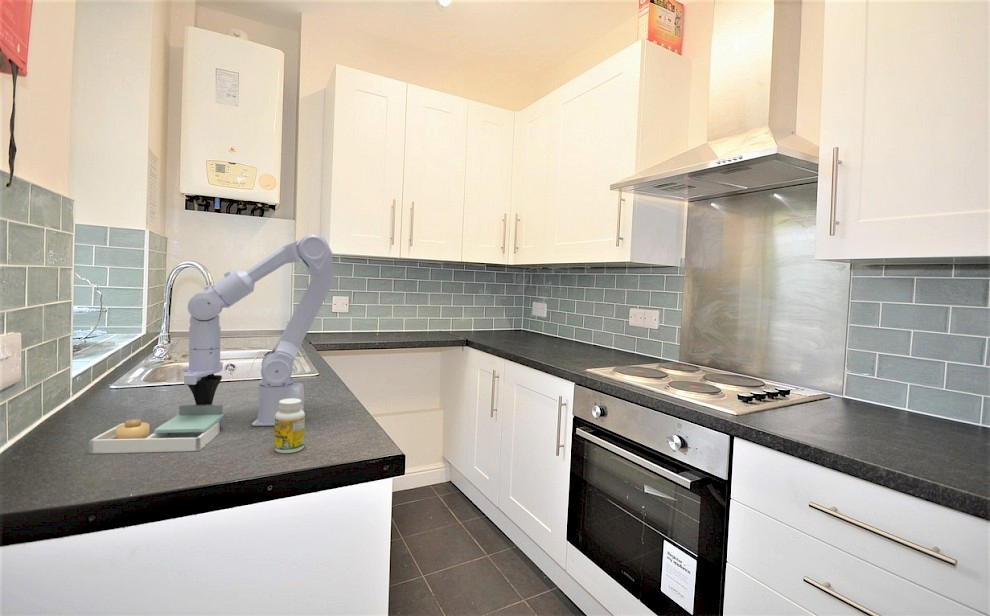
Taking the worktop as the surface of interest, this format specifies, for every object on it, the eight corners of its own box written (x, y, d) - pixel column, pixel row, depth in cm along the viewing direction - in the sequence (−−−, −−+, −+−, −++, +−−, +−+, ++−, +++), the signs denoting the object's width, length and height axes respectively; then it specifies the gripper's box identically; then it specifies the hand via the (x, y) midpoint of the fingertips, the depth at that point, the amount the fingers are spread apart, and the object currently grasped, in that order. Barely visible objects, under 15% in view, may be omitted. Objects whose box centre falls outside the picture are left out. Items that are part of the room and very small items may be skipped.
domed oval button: (153, 439, 92) (154, 417, 92) (140, 447, 87) (141, 424, 87) (124, 439, 91) (125, 417, 91) (110, 448, 86) (110, 424, 86)
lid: (224, 416, 100) (224, 404, 100) (204, 431, 90) (204, 418, 90) (179, 416, 98) (179, 404, 98) (153, 432, 88) (154, 419, 88)
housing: (219, 433, 97) (219, 422, 97) (199, 450, 87) (199, 438, 87) (121, 434, 93) (121, 423, 93) (89, 453, 83) (88, 440, 83)
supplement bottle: (310, 447, 91) (311, 400, 91) (286, 456, 87) (287, 406, 86) (292, 442, 94) (293, 395, 93) (268, 449, 89) (269, 401, 89)
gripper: (199, 342, 106) (198, 401, 106) (167, 353, 91) (166, 420, 92) (232, 343, 107) (231, 400, 108) (206, 353, 93) (205, 419, 94)
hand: (204, 409), depth 100 cm, fingers closed
